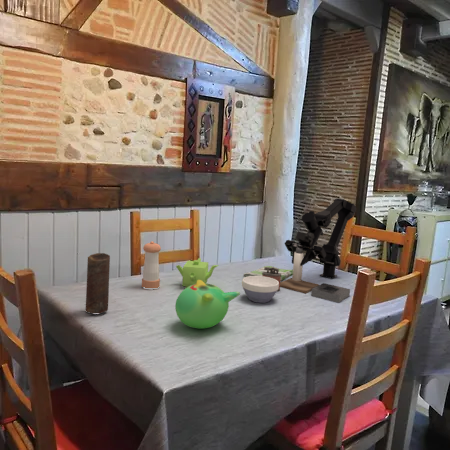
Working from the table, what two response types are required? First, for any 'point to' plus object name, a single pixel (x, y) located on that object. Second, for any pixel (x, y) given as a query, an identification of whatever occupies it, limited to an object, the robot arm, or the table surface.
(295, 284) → the board
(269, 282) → the bowl
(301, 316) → the table surface
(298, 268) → the white bottle
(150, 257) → the pepper shaker
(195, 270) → the kettle
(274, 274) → the lighter
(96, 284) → the candle
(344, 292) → the housing
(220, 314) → the toy bird
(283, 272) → the dish towel
